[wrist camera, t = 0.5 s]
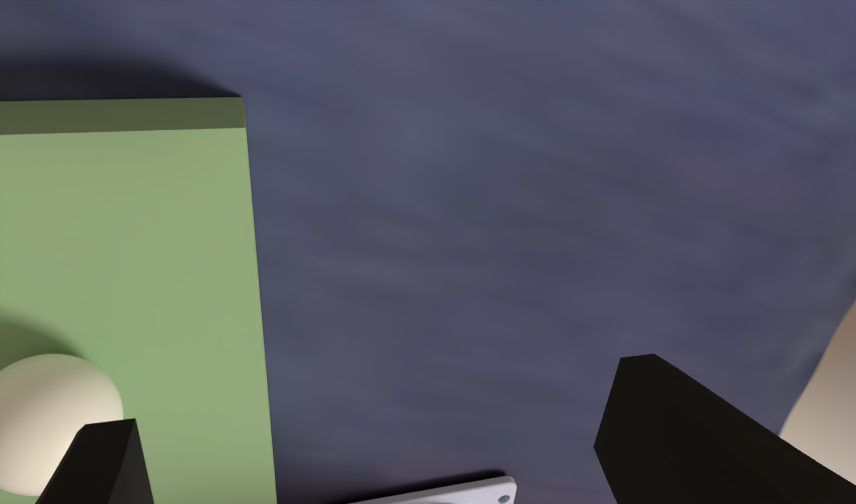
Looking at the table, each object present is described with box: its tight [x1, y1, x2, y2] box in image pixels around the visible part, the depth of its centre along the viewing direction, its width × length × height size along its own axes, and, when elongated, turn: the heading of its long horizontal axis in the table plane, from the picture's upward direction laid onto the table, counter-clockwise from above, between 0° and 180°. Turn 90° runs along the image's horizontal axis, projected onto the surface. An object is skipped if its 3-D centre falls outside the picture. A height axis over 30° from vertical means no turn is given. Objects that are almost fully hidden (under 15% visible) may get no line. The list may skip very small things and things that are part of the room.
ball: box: [0, 354, 123, 496], centre depth 15 cm, size 3×3×3 cm
